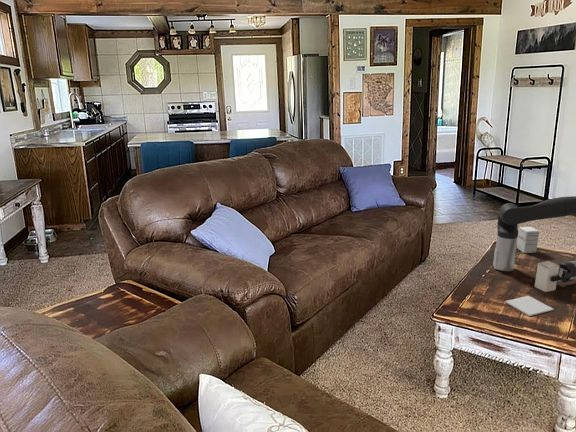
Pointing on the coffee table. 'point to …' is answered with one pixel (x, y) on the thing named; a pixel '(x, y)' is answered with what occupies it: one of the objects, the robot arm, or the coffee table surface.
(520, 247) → the supplement box
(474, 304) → the coffee table surface
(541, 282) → the cream box
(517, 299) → the grey mat
